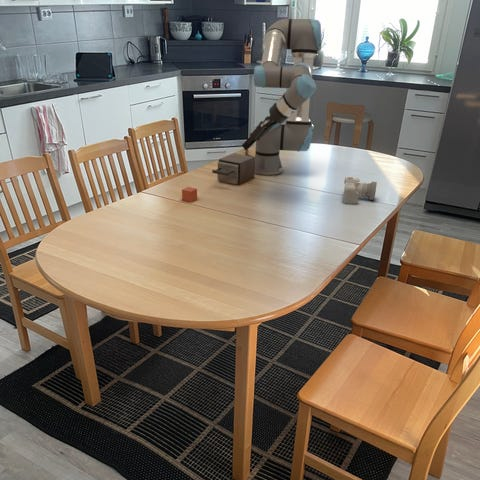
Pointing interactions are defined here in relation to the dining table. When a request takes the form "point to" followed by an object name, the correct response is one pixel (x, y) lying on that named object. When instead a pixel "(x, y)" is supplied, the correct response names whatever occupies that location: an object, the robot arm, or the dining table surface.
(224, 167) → the grey drawer
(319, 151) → the dining table surface
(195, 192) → the block
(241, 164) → the cabinet
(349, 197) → the digital camera
